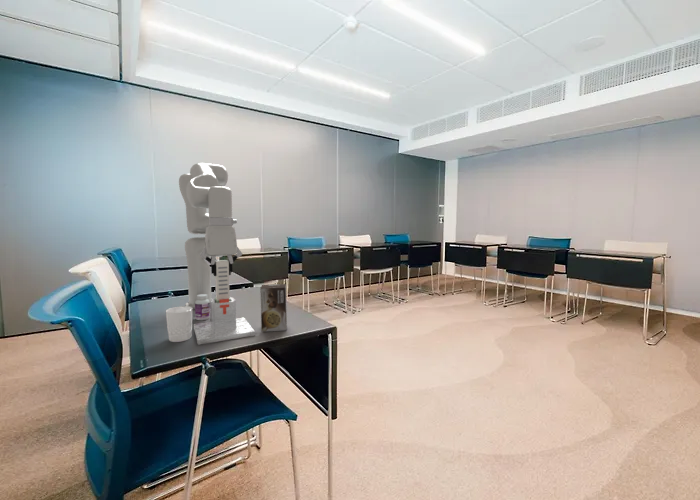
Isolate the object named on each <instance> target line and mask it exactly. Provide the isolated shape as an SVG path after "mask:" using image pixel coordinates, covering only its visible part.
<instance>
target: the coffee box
mask: <svg viewBox="0 0 700 500" xmlns="http://www.w3.org/2000/svg"><path fill="white" fill-rule="evenodd" d="M259 289H260V290H259V291H260V293H259V295H260V320H261V321H260V324H261V325H260V326H261V327H260V328H261V330H260V331H261V333H262V332H280V331H287V329H288V327H287V326H288V318H287V317H288V316H287V311H288V309H287V284H286V283H279V284H278V283H275V284H271V283H270V284H261V286H260V288H259Z"/></svg>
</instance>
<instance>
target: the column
mask: <svg viewBox="0 0 700 500" xmlns="http://www.w3.org/2000/svg"><path fill="white" fill-rule="evenodd" d="M215 264H216V276H214V279H215V280H214V281H215V297H214V298H215V301H216V303H218V302H219V299H229V301H230V297H231V296H230V275H229V261H228V259H224V260H223V259H222V260H215Z"/></svg>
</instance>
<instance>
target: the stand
mask: <svg viewBox="0 0 700 500" xmlns="http://www.w3.org/2000/svg"><path fill="white" fill-rule="evenodd" d="M229 297H230V301H229V299H219V302H218V303H216V301H215V298H216V297H214V298H211V300H210V317H209V319H210V321H207V322H199V323H193V331H194V335H195V338H196V343H197V346H199V345H206V344H211V343H217V342H222V341H223V342H224V341H229V340H237V339H240V338H241V339H242V338H247V337H253V336H256V331H255V330H254V328H253V327H252V326H251V324H250V323H249V322H248V320H247V319H246V318H245V317H237V312H236V311H237V309H236V307H237V304H236V303H237V302H236V299H235V298H234V297H231V296H229Z"/></svg>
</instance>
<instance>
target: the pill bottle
mask: <svg viewBox="0 0 700 500" xmlns="http://www.w3.org/2000/svg"><path fill="white" fill-rule="evenodd" d="M207 298H208V295H207V294H200V295H197V300H196V301H195V309H194V318H195V320H197V321H205V320H208V319H210V302H209V300H208V299H207Z"/></svg>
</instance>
